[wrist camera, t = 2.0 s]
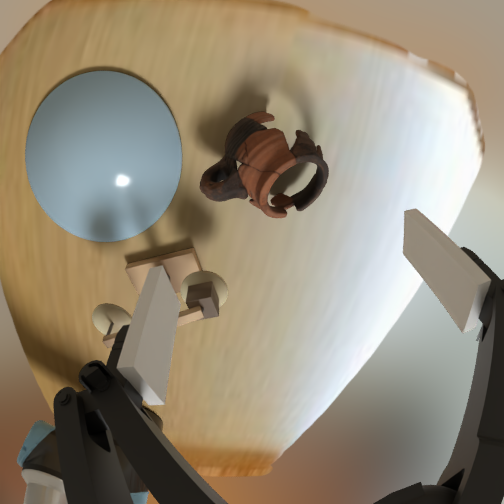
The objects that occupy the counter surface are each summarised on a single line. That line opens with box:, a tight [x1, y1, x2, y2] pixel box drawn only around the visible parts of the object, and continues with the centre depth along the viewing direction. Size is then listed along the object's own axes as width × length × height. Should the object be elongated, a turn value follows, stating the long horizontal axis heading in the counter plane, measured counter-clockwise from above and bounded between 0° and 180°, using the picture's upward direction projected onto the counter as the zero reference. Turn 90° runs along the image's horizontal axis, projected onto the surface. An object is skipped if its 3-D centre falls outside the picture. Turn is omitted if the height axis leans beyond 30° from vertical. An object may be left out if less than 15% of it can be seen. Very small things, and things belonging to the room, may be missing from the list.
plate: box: [25, 71, 182, 242], centre depth 29 cm, size 20×20×1 cm
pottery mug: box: [200, 112, 329, 218], centre depth 29 cm, size 12×10×8 cm
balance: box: [92, 248, 228, 348], centre depth 32 cm, size 16×5×11 cm, turn 103°
